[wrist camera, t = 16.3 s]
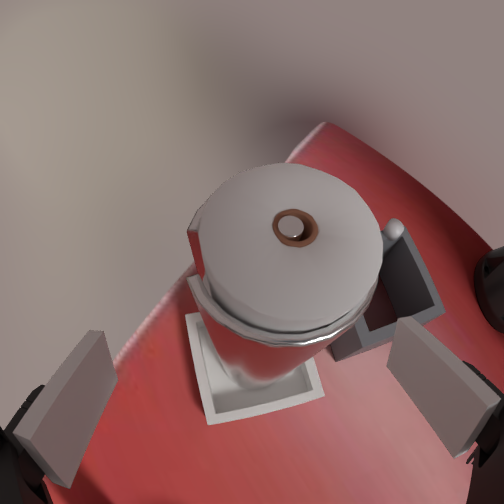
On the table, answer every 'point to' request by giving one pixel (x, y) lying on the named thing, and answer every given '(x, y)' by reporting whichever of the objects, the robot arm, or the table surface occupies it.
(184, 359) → the table surface
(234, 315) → the shiny metal cylinder
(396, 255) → the housing
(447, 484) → the table surface
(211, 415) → the tray
